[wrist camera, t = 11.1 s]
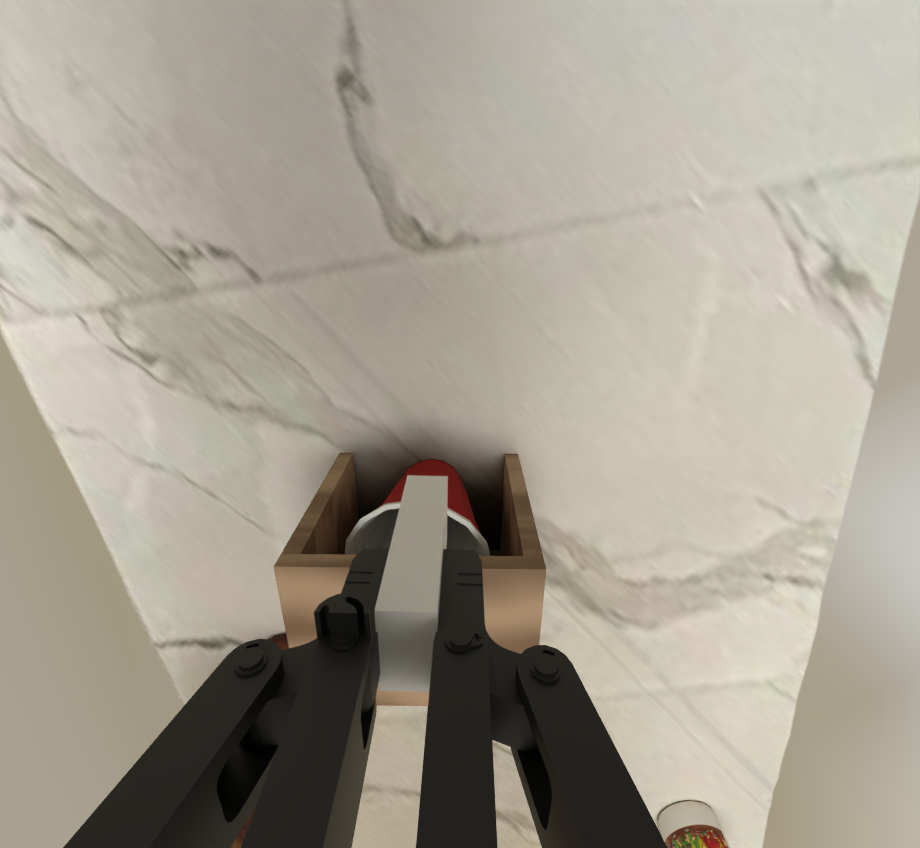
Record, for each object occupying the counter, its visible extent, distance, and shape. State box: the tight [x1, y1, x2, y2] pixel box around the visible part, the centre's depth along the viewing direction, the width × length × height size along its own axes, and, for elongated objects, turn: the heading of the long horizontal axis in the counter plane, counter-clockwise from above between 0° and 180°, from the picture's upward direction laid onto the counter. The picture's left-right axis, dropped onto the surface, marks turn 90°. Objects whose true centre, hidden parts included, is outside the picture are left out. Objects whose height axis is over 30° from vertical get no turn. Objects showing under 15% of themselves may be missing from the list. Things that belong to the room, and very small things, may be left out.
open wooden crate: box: [274, 453, 546, 706], centre depth 37 cm, size 12×16×16 cm
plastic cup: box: [345, 459, 490, 556], centre depth 38 cm, size 11×11×12 cm
